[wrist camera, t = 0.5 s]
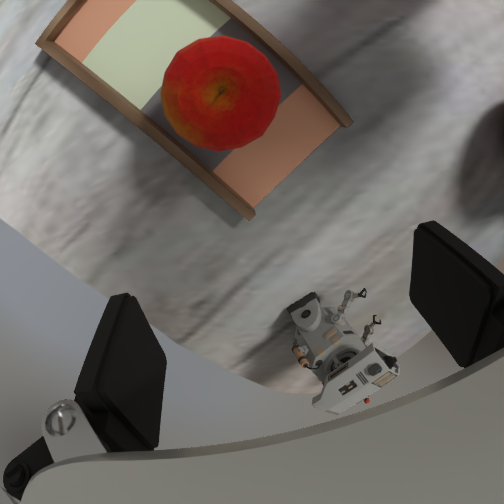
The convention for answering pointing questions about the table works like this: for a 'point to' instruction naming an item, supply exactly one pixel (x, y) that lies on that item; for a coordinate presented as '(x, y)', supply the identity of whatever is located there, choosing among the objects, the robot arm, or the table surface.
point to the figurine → (339, 354)
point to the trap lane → (152, 73)
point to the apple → (220, 93)
